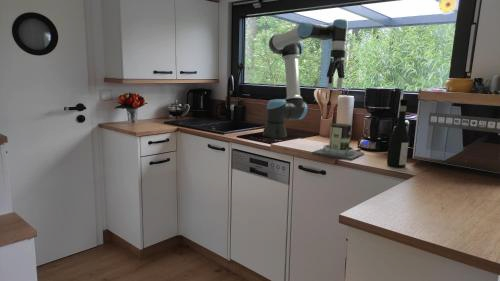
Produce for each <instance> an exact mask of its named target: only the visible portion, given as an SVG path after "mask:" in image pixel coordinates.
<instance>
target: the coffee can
mask: <svg viewBox="0 0 500 281" xmlns="http://www.w3.org/2000/svg"><path fill="white" fill-rule="evenodd" d="M352 126H353V125H352V124H348V123H337V122H336V123H330V129H329V130H330V132H329V144H328V145H329V148H331V149H337V150H349V146H350V145H351V144H350V143H351V135H352ZM350 147H351V146H350Z"/></svg>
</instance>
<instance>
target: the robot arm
mask: <svg viewBox="0 0 500 281" xmlns="http://www.w3.org/2000/svg"><path fill="white" fill-rule="evenodd" d="M348 24H349V22H348V20H347V19H344V18H342V19H340V18H339V19H334V20H333V24H331V25H327V24H320V23H319V24H318V23H312V22H303V21H302V22H300V23H299V25H298V26H297V27H296V28H293V29H291V30H289V31H285V32H283V33H276V34H274V35H272V36H271V37H270V38H269V40H268V48H269V50H270V51H271V52H272V53H274V54H276V55H281V58H282V60H283V61H284V69H285V71H284V72H285V85H286V97H285V98H283V99H282V98H278V99H277V98H275V99H270V100H269V101H267V104H266V122H265V126H264V128H263V131H262V136H263V137H265V138H272V139H274V138H275V139H283V138H284V139H285V138H287V136H288V134H287V128H286V126H285V124H286V122H285V121H287V120H288V121H291V120H292V121H293V120H294V121H297V120H302V119H304V118H305V117H306V115H307V112H308V105H307V103H306V102H305V101H304V98H303V97H302V96H301V86H300V72H299V71H300V70H299V59H300V58H301V56H302V54H303V51H304V43H303V41H304V40H307V39H316V40H317V39H319V40H321V41H328V40H331V45H330V46H331V47H330V48H331V51H330V57H331V58H330V61H329V66H328V69H327V72H326V73H327V74H326V78H327V79H328V80H327V89H326V90H327V91H328V90H329V91H333V90H334V80H335V77H334V76H335V73H336V72H337V79H336V80H337V81H336V90H338V91H341V90H343V89H342V88H343V80H344V79H345V64H344V62H345V61H344V59H342V58H346V46H347V39H348V38H347V37H348V28H349V27H348Z"/></svg>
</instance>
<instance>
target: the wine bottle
mask: <svg viewBox="0 0 500 281" xmlns="http://www.w3.org/2000/svg"><path fill="white" fill-rule="evenodd" d="M399 100H400V101H399V112H398V119H397V123H396V125H395V127H394V129H393V130H392V133H391V134H390V137H389V141H388V150H387V158H386V159H387V160H386V164H387V165H388V166H390V167H392V168H396V169H398V168H399V169H400V168H401V169H402V168H405V167H406V165H407V159H408V158H407V157H408V150H409V145H410V144H409V142H410V140H409V133H408V130H407V126H406V115H407V114H406V113H407V105H408V101H409V100H408V99H405V98H400V99H399Z"/></svg>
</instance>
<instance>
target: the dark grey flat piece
mask: <svg viewBox="0 0 500 281" xmlns="http://www.w3.org/2000/svg"><path fill="white" fill-rule="evenodd" d="M311 154H312V155H317V156H323V157H328V158H336V159H339V160H340V159H341V160H347V161H354V160H356V159H357V158H360V157H361V156H363V155H365V152H362V151H359V150H357V151H356V149H355V148H354V147H352V146H349V150H337V149H331V148H329V144H324V145H323V147H322V148H320V149H317V150H315V151H314V150H313V151H312V152H311Z"/></svg>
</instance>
